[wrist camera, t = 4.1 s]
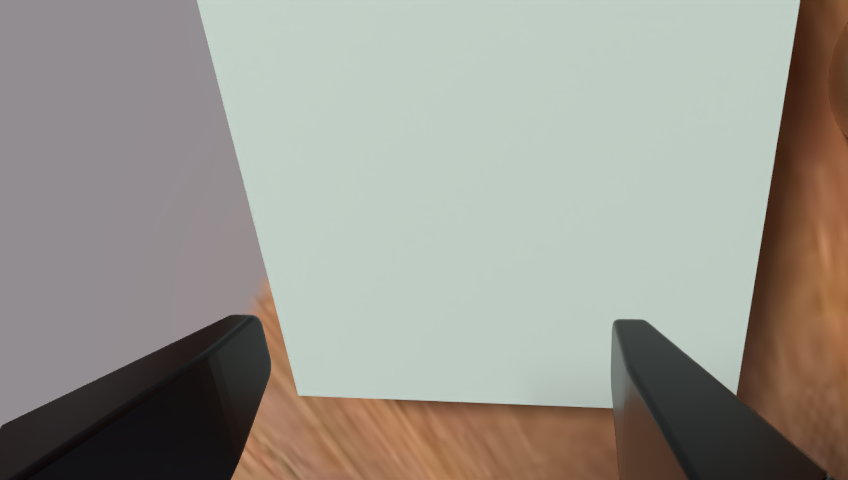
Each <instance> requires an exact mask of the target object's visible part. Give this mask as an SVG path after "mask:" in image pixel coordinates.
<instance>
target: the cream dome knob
mask: <svg viewBox="0 0 848 480" xmlns="http://www.w3.org/2000/svg"><path fill="white" fill-rule="evenodd" d="M828 88H829V99H830V104H831V109H832V112H833V114H834V117H835V119H836V122H837V123H838V125H839V127H840V128H841V130H842V132H843V133H844V134H845V135H846V137H847V138H848V23H847V24H846V26H845V28H844V30H843V32H842V34H841V36H840V37H839V40H838V42H837V45H836V47H835V50H834V53H833V56H832V61H831V65H830V70H829V80H828Z"/></svg>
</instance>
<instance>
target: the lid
mask: <svg viewBox="0 0 848 480" xmlns="http://www.w3.org/2000/svg"><path fill="white" fill-rule="evenodd" d="M197 3H198V7H199V11H200V14H201V18H202V22H203V26H204V30H205V34H206V38H207V42H208V46H209V49H210V53H211V57H212V61H213V65H214V69H215V73H216V77H217V81H218V84H219V88H220V92H221V96H222V100H223V104H224V108H225V112H226V116H227V120H228V124H229V127H230V131H231V135H232V139H233V143H234V147H235V151H236V155H237V159H238V163H239V166H240V170H241V174H242V178H243V182H244V186H245V189H246V194H247V198H248V201H249V205H250V209H251V213H252V217H253V221H254V224H255V229H256V233H257V237H258V240H259V244H260V248H261V252H262V256H263V260H264V264H265V268H266V272H267V275H268V279H269V283H270V287H271V291H272V295H273V299H274V303H275V307H276V311H277V314H278V318H279V322H280V326H281V330H282V334H283V338H284V342H285V346H286V349H287V353H288V357H289V361H290V365H291V369H292V373H293V377H294V381H295V385H296V388H297V392H298V395H300V396H325V397H349V398H374V399H399V400H423V401H448V402H473V403H497V404H522V405H547V406H572V407H596V408H613V402H612V391H611V343H612V325H613V322H614V321H615V320H617V319H643V320H645V321H647V322H649V323H650V324H651V325H652V326H653V327H655V328H656V329H657V330H658V331H659V332H661V333H662V334H663V335H664V336H665V337H667V338H668V339H669V340H670V341H671V342H673V343H674V344H675V345H676V346H677V347H679V348H680V349H681V350H682V351H683V352H685V353H686V354H687V355H688V356H689V357H691V358H692V359H693V360H694V361H695V362H697V363H698V364H699V365H700V366H701V367H703V368H704V369H705V370H706V371H707V372H709V373H710V374H711V375H712V376H713V377H715V378H716V379H717V380H718V381H719V382H721V383H722V384H723V385H724V386H725V387H727V388H728V389H729V390H730V391H731V392H733V393H734V394H735V395H736V394H737V388H738V382H739V376H740V370H741V363H742V357H743V351H744V345H745V339H746V332H747V326H748V320H749V314H750V308H751V301H752V295H753V289H754V283H755V277H756V271H757V264H758V258H759V252H760V246H761V240H762V233H763V227H764V221H765V215H766V209H767V202H768V196H769V190H770V184H771V178H772V172H773V165H774V159H775V153H776V147H777V141H778V134H779V128H780V122H781V116H782V110H783V104H784V97H785V91H786V85H787V79H788V73H789V66H790V60H791V54H792V48H793V42H794V35H795V29H796V23H797V17H798V11H799V5H800V0H197Z"/></svg>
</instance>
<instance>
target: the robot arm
mask: <svg viewBox="0 0 848 480" xmlns="http://www.w3.org/2000/svg"><path fill="white" fill-rule="evenodd" d="M270 372H271V359H270V354H269V350H268V346H267V342H266V338H265V334H264V330H263V326H262V323H261V321H260V319H259V318H258V317H257V316H255V315H230V316H228V317H225V318H223V319H221V320H219V321H217V322H215V323H213V324H211V325H209V326H207V327H205V328H203V329H201V330H199V331H196V332H194V333H192V334H191V335H188V336H186V337H184V338H182V339H180V340H178V341H176V342H174V343H171V344H169V345H167V346H165V347H163V348H161V349H159V350H157V351H155V352H153V353H151V354H149V355H147V356H145V357H143V358H140V359H138V360H136V361H134V362H132V363H130V364H128V365H126V366H124V367H122V368H120V369H118V370H116V371H114V372H112V373H109V374H107V375H105V376H103V377H101V378H99V379H97V380H95V381H93V382H91V383H89V384H86V385H84V386H82V387H80V388H78V389H76V390H74V391H72V392H70V393H68V394H66V395H64V396H62V397H60V398H57V399H55V400H53V401H51V402H49V403H47V404H45V405H43V406H41V407H39V408H37V409H35V410H33V411H31V412H28V413H27V414H24V415H22V416H20V417H18V418H16V419H14V420H12V421H10V422H8V423H6V424H4V425H2V426H1V428H0V480H231V478H232V476H233V473H234V471H235V469H236V467H237V465H238V463H239V460H240V457H241V455H242V452H243V450H244V447H245V444H246V442H247V439H248V436H249V433H250V430H251V428H252V425H253V422H254V419H255V416H256V413H257V411H258V408H259V405H260V402H261V399H262V397H263V394H264V391H265V388H266V385H267V383H268V380H269V377H270ZM611 391H612V402H613V414H614V425H615V436H616V447H617V459H618V469H619V478H620V480H838V479H836V478H835V477H833V476H828V472H827V471H826V470H825V469H824V468H823V467H822V466H820V465H819V464H818V463H817V462H815V461H814V460H813V459H812V458H811V457H809V456H808V455H807V454H806V453H805V452H803V451H802V450H801V449H800V448H799V447H797V446H796V445H795V444H794V443H793V442H791V441H790V440H789V439H788V438H787V437H785V436H784V435H783V434H782V433H781V432H779V431H778V430H777V429H776V428H775V427H773V426H772V425H771V424H770V423H769V422H767V421H766V420H765V419H764V418H763V417H761V416H760V415H759V414H758V413H757V412H755V411H754V410H753V409H752V408H751V407H749V406H748V405H747V404H746V403H745V402H743V401H742V400H741V399H740V398H739V397H737V396H736V395H735V394H734V393H733V392H731V391H730V390H729V389H728V388H727V387H725V386H724V385H723V384H722V383H721V382H719V381H718V380H717V379H716V378H715V377H713V376H712V375H711V374H710V373H709V372H707V371H706V370H705V369H704V368H703V367H701V366H700V365H699V364H698V363H697V362H695V361H694V360H693V359H692V358H691V357H689V356H688V355H687V354H686V353H685V352H683V351H682V350H681V349H680V348H679V347H677V346H676V345H675V344H674V343H673V342H671V341H670V340H669V339H668V338H667V337H665V336H664V335H663V334H662V333H661V332H659V331H658V330H657V329H656V328H655V327H653V326H652V325H651V324H650V323H649V322H647V321H645V320H643V319H617V320H615V321H614V322H613V325H612V343H611Z"/></svg>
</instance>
